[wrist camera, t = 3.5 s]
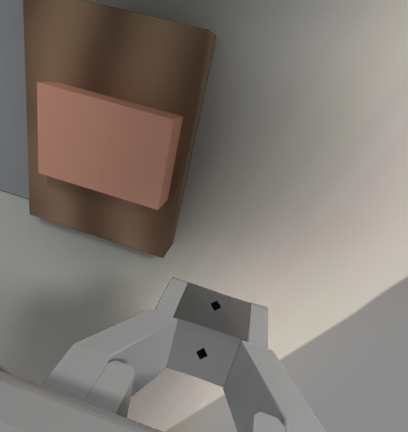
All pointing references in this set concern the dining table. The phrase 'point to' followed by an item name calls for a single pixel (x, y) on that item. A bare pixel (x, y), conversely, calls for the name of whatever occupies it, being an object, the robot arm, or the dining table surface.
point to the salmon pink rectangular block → (106, 143)
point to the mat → (13, 101)
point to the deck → (121, 89)
